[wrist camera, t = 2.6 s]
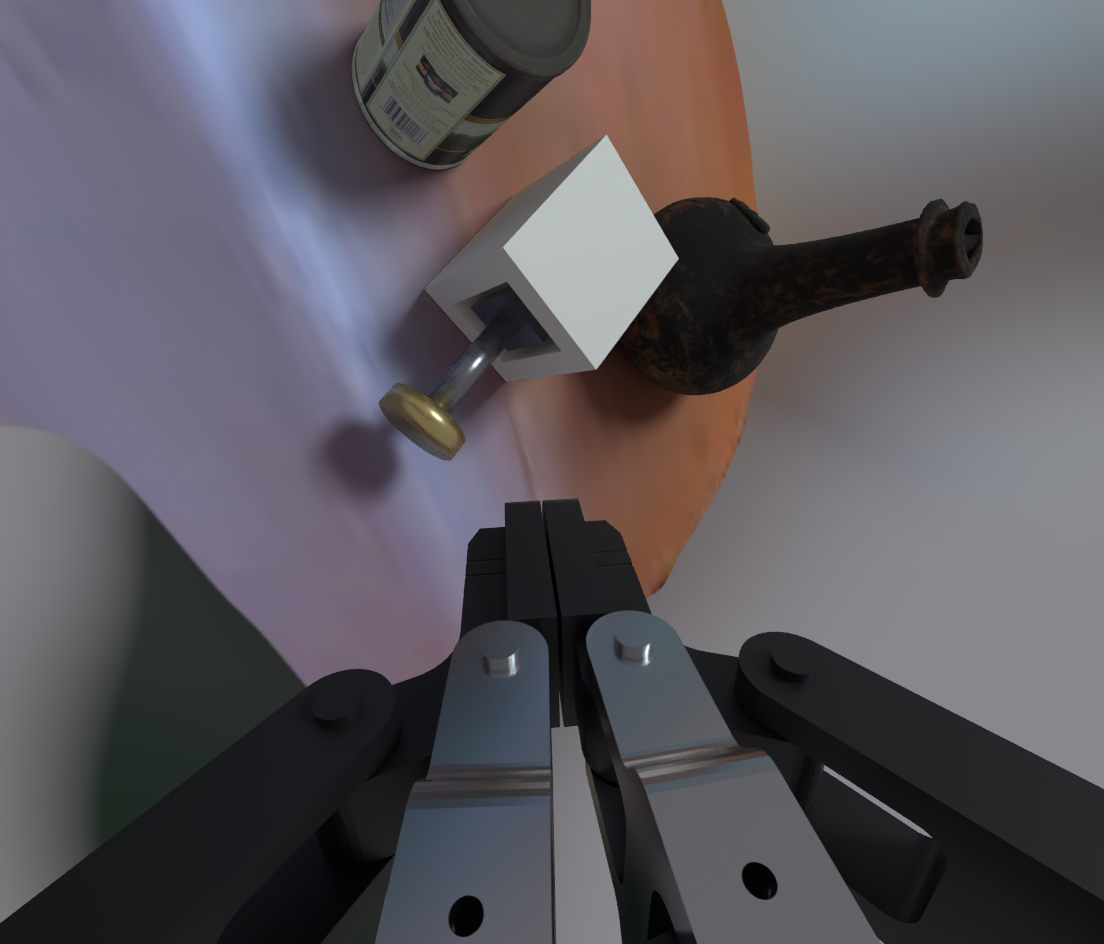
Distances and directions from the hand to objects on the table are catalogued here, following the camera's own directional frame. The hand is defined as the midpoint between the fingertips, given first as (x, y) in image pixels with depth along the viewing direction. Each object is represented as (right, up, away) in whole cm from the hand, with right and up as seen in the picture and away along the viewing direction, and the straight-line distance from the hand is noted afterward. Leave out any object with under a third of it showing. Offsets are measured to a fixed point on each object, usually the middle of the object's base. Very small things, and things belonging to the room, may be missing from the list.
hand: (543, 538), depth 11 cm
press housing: (-4, +17, +35) cm, 39 cm away
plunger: (-8, +9, +29) cm, 31 cm away
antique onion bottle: (+10, +18, +45) cm, 50 cm away
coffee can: (-10, +30, +30) cm, 43 cm away
